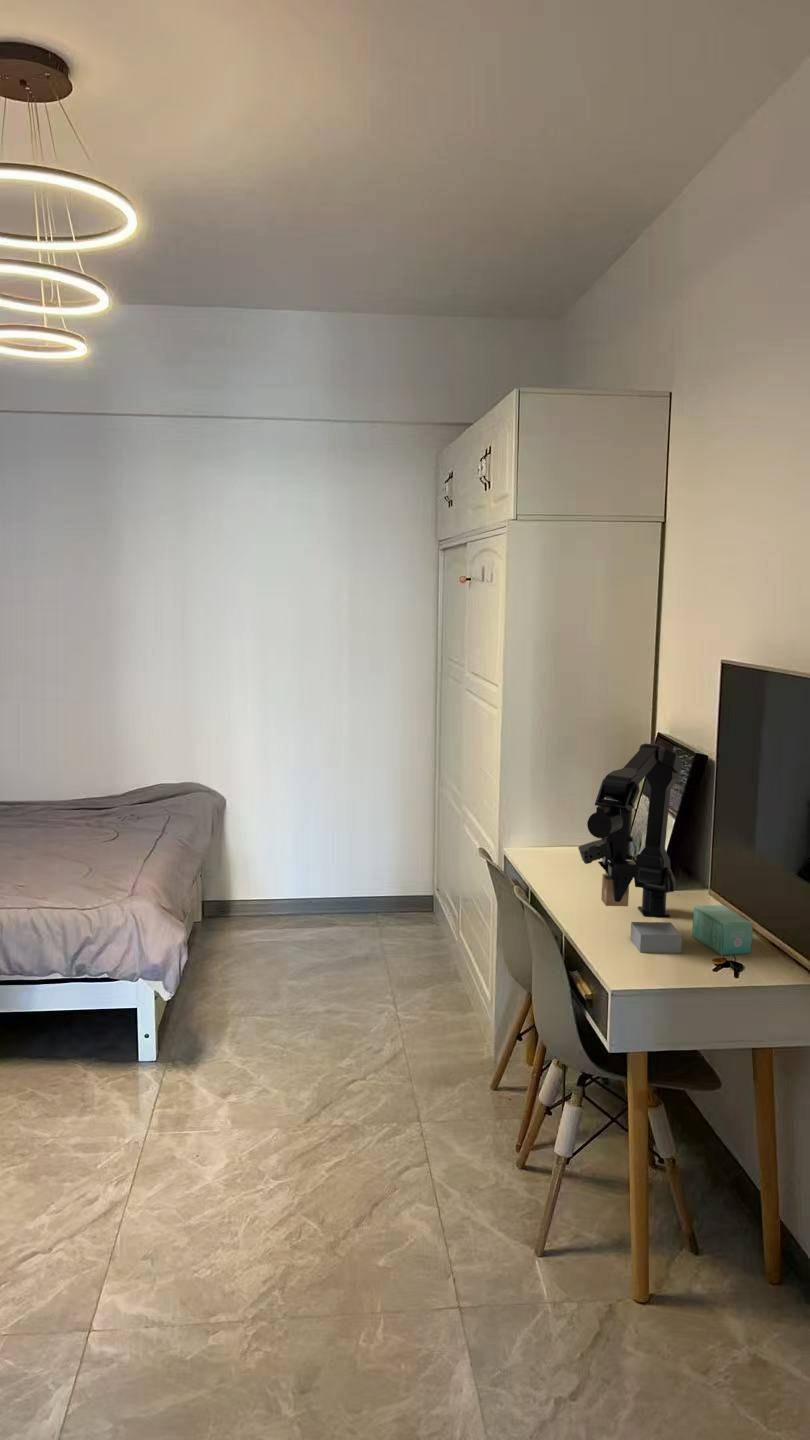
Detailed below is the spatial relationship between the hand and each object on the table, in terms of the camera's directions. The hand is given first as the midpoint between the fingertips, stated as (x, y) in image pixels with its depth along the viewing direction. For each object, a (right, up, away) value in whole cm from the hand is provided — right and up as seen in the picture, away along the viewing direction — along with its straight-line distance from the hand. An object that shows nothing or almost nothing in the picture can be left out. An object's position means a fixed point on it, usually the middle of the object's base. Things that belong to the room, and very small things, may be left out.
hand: (614, 898), depth 245 cm
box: (+23, -10, -3) cm, 25 cm away
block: (0, -1, 0) cm, 1 cm away
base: (+8, -10, -5) cm, 13 cm away
